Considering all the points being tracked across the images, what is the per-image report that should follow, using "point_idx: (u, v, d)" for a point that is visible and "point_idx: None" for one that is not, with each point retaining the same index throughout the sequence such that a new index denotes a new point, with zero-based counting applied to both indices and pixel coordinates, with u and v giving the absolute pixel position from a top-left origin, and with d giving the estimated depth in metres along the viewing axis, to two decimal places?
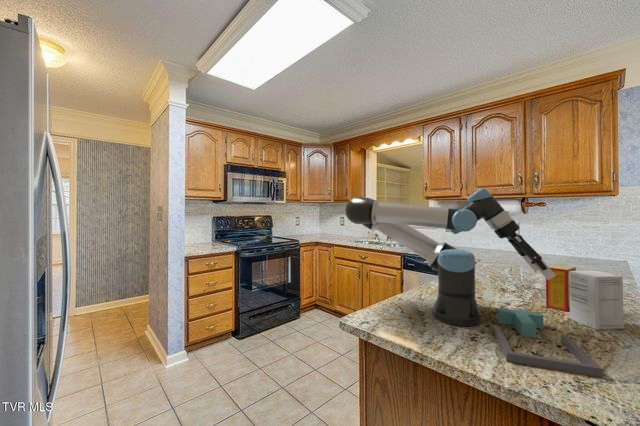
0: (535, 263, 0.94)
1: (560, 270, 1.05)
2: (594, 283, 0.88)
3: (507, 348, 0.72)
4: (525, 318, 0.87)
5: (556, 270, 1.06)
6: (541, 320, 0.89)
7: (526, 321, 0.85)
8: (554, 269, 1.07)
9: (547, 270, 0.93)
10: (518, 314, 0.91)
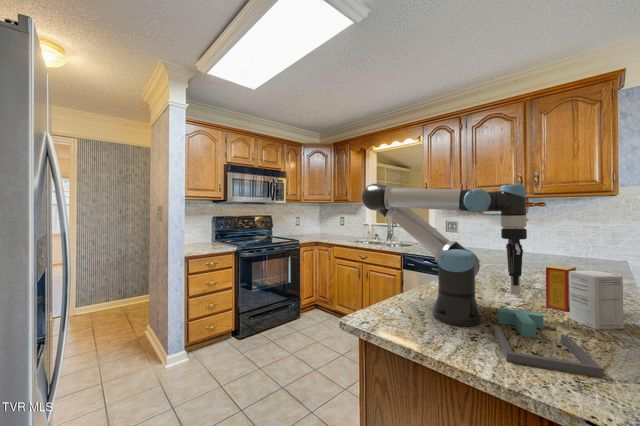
0: (511, 276, 0.99)
1: (560, 270, 1.05)
2: (594, 283, 0.88)
3: (507, 348, 0.72)
4: (525, 318, 0.87)
5: (556, 270, 1.06)
6: (541, 320, 0.89)
7: (527, 321, 0.85)
8: (554, 269, 1.07)
9: (516, 287, 0.99)
10: (518, 314, 0.91)
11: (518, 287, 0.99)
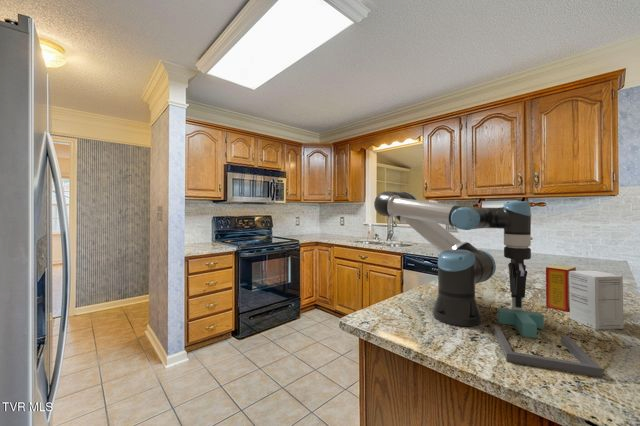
0: (514, 297, 0.95)
1: (560, 270, 1.05)
2: (594, 283, 0.88)
3: (507, 348, 0.72)
4: (526, 318, 0.87)
5: (556, 270, 1.06)
6: (541, 320, 0.89)
7: (527, 321, 0.84)
8: (554, 269, 1.07)
9: (519, 309, 0.94)
10: (518, 314, 0.90)
11: (521, 309, 0.94)
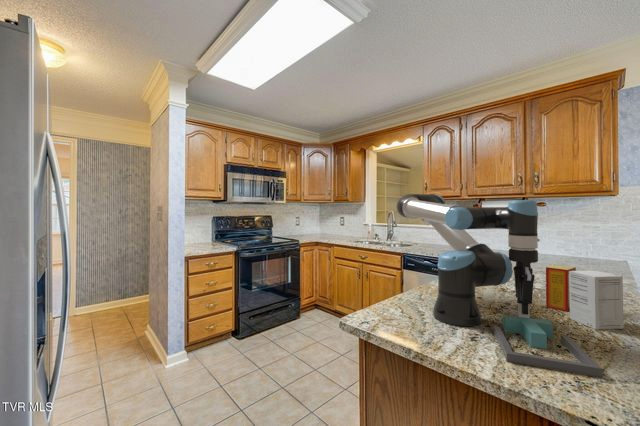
0: (520, 304, 0.88)
1: (560, 270, 1.05)
2: (594, 283, 0.88)
3: (507, 348, 0.72)
4: (534, 327, 0.80)
5: (556, 270, 1.06)
6: (550, 329, 0.82)
7: (536, 330, 0.78)
8: (554, 269, 1.07)
9: (526, 316, 0.87)
10: (526, 322, 0.84)
11: (527, 316, 0.87)
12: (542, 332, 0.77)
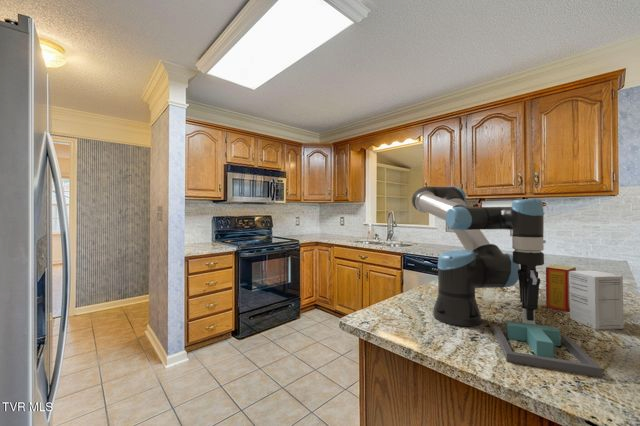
0: (525, 309, 0.83)
1: (560, 270, 1.05)
2: (594, 283, 0.88)
3: (507, 348, 0.72)
4: (540, 334, 0.75)
5: (556, 270, 1.06)
6: (558, 336, 0.77)
7: (542, 338, 0.73)
8: (554, 269, 1.07)
9: (531, 322, 0.83)
10: (531, 329, 0.79)
11: (533, 322, 0.82)
12: (549, 340, 0.72)
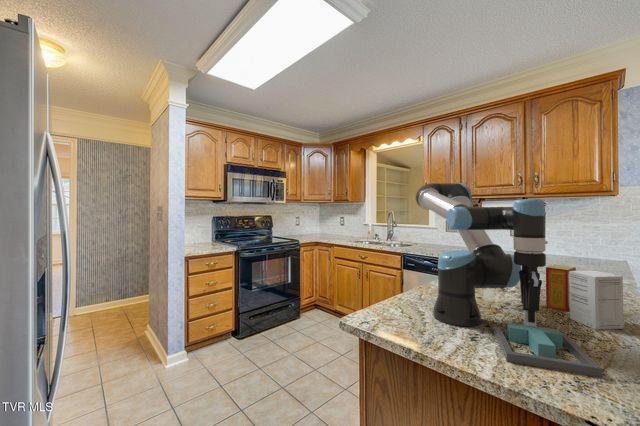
0: (526, 311, 0.82)
1: (560, 270, 1.05)
2: (594, 283, 0.88)
3: (507, 348, 0.72)
4: (542, 337, 0.74)
5: (556, 270, 1.06)
6: (560, 339, 0.76)
7: (544, 341, 0.71)
8: (554, 269, 1.07)
9: (532, 324, 0.81)
10: (533, 331, 0.77)
11: (534, 324, 0.81)
12: (551, 343, 0.70)
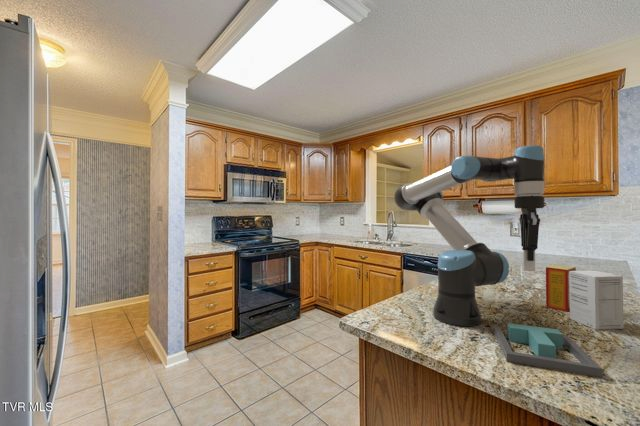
0: (526, 251, 0.88)
1: (560, 270, 1.05)
2: (594, 283, 0.88)
3: (507, 348, 0.72)
4: (542, 337, 0.74)
5: (556, 270, 1.06)
6: (560, 339, 0.76)
7: (544, 341, 0.71)
8: (554, 269, 1.07)
9: (531, 262, 0.87)
10: (533, 331, 0.77)
11: (533, 263, 0.87)
12: (551, 343, 0.70)
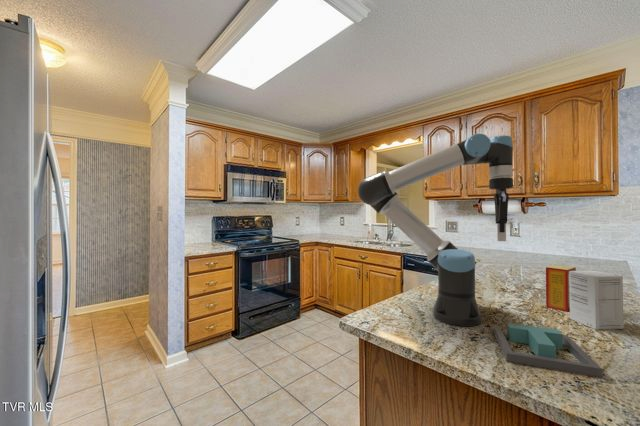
0: (498, 224, 1.04)
1: (560, 270, 1.05)
2: (594, 283, 0.88)
3: (507, 348, 0.72)
4: (542, 337, 0.74)
5: (556, 270, 1.06)
6: (560, 339, 0.76)
7: (544, 341, 0.71)
8: (554, 269, 1.07)
9: (503, 234, 1.04)
10: (533, 331, 0.77)
11: (504, 234, 1.04)
12: (551, 343, 0.70)
